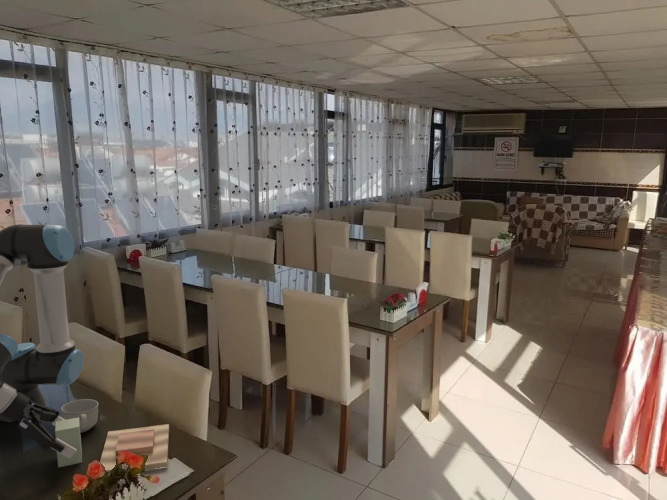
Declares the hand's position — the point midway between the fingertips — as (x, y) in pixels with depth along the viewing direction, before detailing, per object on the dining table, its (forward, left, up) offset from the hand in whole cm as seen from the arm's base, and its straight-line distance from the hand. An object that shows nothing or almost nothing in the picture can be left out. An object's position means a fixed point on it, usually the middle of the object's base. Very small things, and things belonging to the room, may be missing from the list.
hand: (73, 442), depth 148 cm
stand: (+1, +17, -5) cm, 18 cm away
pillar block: (0, -1, -5) cm, 5 cm away
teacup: (-17, -1, -6) cm, 18 cm away
